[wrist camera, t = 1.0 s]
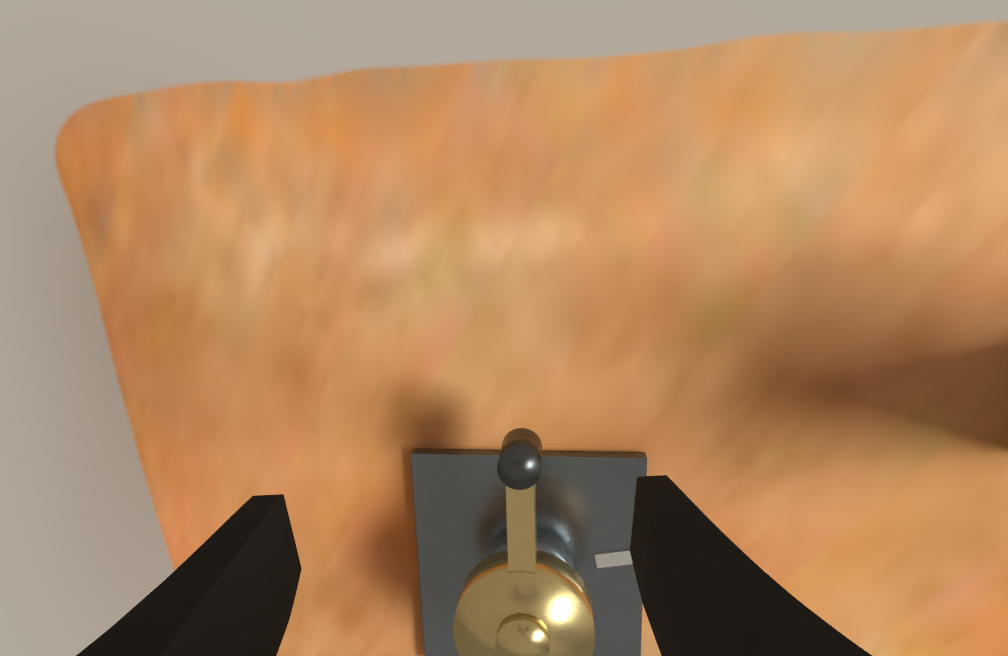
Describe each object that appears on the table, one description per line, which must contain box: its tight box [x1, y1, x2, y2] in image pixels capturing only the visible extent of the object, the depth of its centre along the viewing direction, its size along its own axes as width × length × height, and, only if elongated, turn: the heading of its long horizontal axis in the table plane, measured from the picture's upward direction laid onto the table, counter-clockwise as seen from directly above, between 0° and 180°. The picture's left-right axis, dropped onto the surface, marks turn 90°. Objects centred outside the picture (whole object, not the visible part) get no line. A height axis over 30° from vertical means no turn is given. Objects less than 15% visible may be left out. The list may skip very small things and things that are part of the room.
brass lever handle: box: [453, 428, 595, 656], centre depth 25 cm, size 12×6×2 cm, turn 1°
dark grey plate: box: [411, 449, 647, 656], centre depth 28 cm, size 13×12×3 cm
